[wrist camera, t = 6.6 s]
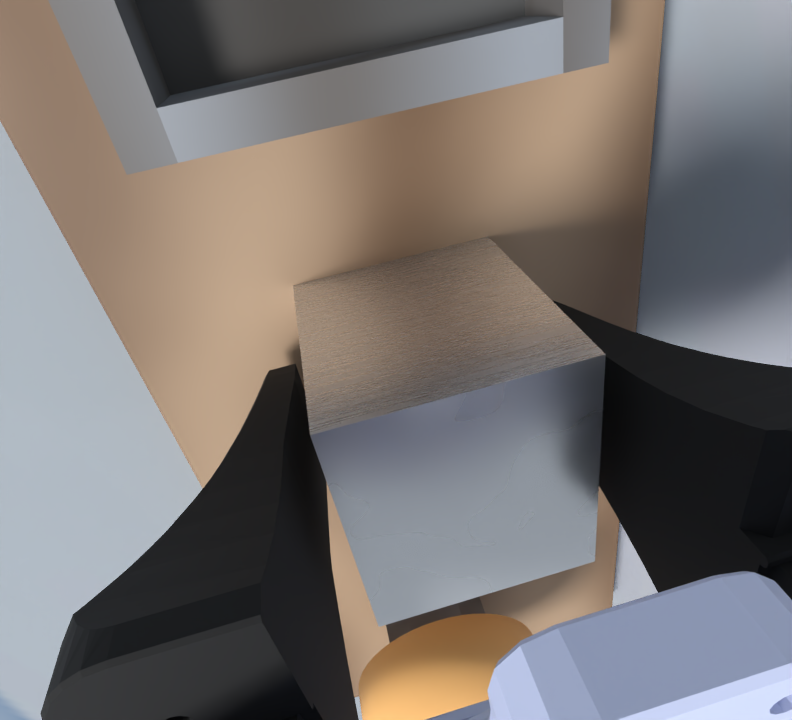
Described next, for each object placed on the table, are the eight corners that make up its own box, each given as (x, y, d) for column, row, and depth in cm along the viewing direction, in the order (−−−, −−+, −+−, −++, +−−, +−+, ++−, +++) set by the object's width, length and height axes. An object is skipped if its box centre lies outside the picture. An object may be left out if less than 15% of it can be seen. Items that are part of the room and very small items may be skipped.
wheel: (501, 525, 17) (567, 669, 14) (510, 620, 21) (567, 759, 17) (330, 575, 17) (349, 738, 13) (366, 665, 20) (391, 817, 16)
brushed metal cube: (487, 236, 12) (605, 354, 8) (502, 408, 15) (595, 561, 11) (293, 285, 12) (309, 435, 8) (345, 451, 15) (378, 626, 10)
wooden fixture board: (692, -919, 6) (1074, -1744, 3) (598, 595, 23) (646, 679, 20) (-464, -813, 5) (-1348, -1816, 2) (320, 681, 22) (329, 782, 19)
